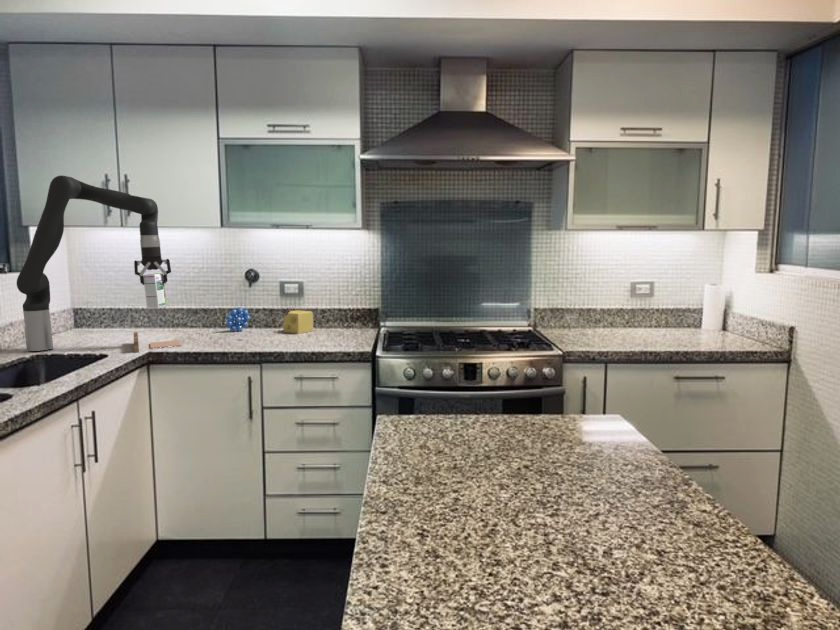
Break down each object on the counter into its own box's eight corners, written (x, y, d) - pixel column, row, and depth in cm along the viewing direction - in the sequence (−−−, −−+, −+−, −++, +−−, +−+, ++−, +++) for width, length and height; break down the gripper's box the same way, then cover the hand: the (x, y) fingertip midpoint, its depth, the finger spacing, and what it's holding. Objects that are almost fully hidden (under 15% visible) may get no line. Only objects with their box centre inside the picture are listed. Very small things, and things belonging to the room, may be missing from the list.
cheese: (283, 332, 286) (282, 312, 285) (299, 329, 295) (298, 309, 294) (298, 334, 281) (297, 313, 279) (314, 331, 289) (313, 311, 288)
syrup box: (158, 308, 249) (155, 274, 247) (146, 308, 250) (142, 274, 248) (166, 306, 255) (163, 273, 252) (154, 306, 256) (151, 273, 254)
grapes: (249, 329, 295) (248, 305, 293) (251, 331, 289) (250, 307, 287) (225, 331, 291) (224, 307, 289) (227, 333, 284) (225, 308, 283)
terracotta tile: (150, 349, 248) (150, 347, 248) (150, 344, 259) (149, 342, 259) (181, 346, 254) (181, 345, 254) (179, 341, 264) (179, 340, 264)
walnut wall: (139, 352, 242) (138, 340, 241) (134, 352, 241) (133, 340, 241) (138, 343, 262) (137, 332, 261) (134, 343, 261) (133, 332, 260)
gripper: (168, 245, 255) (171, 282, 257) (131, 246, 249) (135, 284, 251) (169, 245, 248) (172, 283, 251) (131, 246, 242) (135, 285, 245)
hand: (154, 284), depth 251 cm, fingers closed on syrup box, 8 cm apart
